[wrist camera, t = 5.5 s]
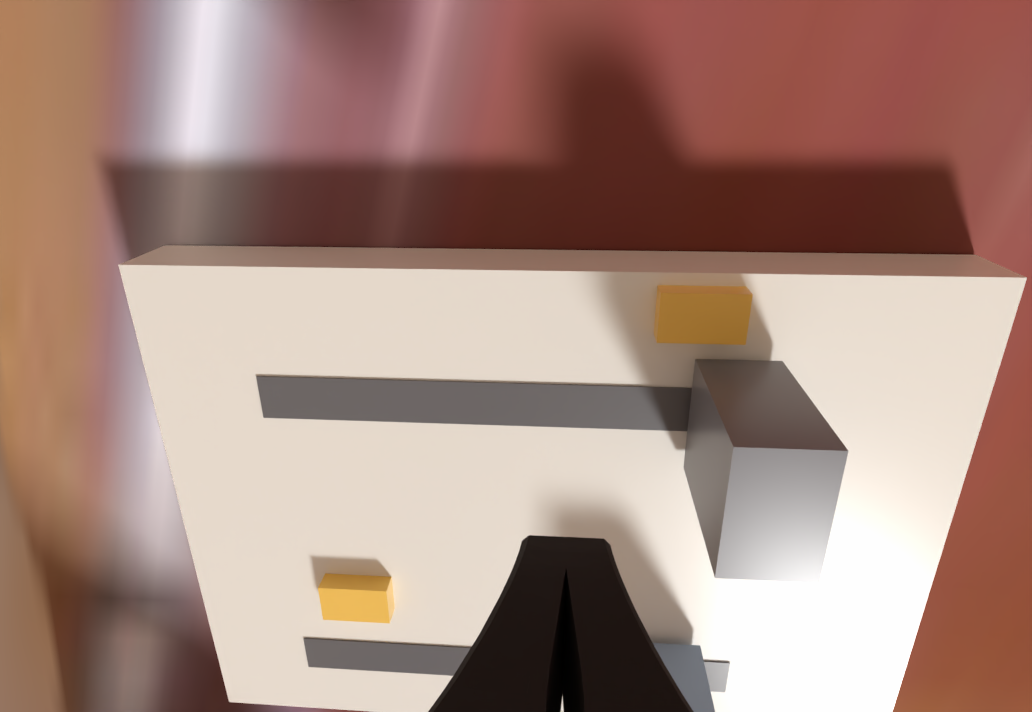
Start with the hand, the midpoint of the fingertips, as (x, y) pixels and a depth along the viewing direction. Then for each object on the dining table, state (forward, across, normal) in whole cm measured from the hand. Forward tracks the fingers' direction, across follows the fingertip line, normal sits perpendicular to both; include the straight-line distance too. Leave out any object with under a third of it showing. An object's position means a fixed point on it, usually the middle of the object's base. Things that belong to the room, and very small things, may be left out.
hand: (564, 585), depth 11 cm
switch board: (+8, 0, +4) cm, 9 cm away
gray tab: (+6, -4, 0) cm, 7 cm away
